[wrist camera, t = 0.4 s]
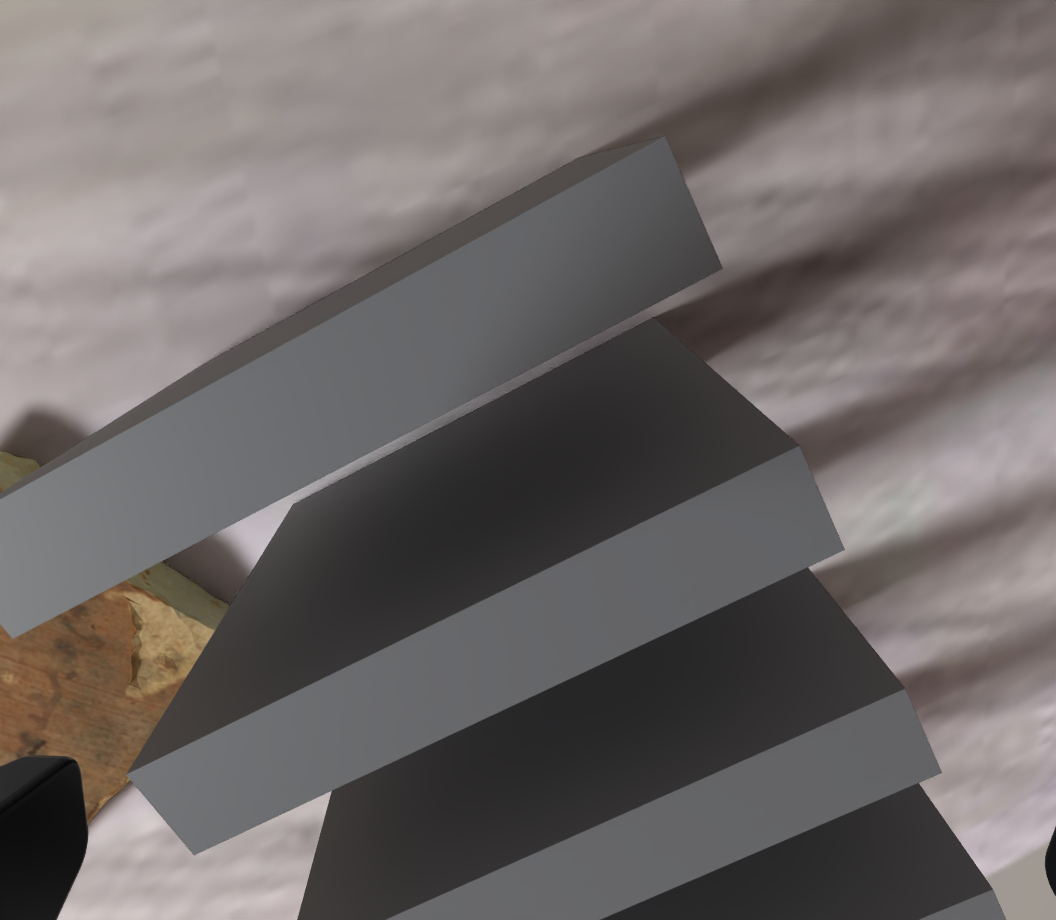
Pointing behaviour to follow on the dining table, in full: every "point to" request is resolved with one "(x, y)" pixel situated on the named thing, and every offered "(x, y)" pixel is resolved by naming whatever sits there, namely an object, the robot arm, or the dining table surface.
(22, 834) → the robot arm
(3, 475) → the shard
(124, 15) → the dining table surface
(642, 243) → the domino
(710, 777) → the domino
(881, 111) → the dining table surface
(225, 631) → the domino
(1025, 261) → the dining table surface
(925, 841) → the domino
